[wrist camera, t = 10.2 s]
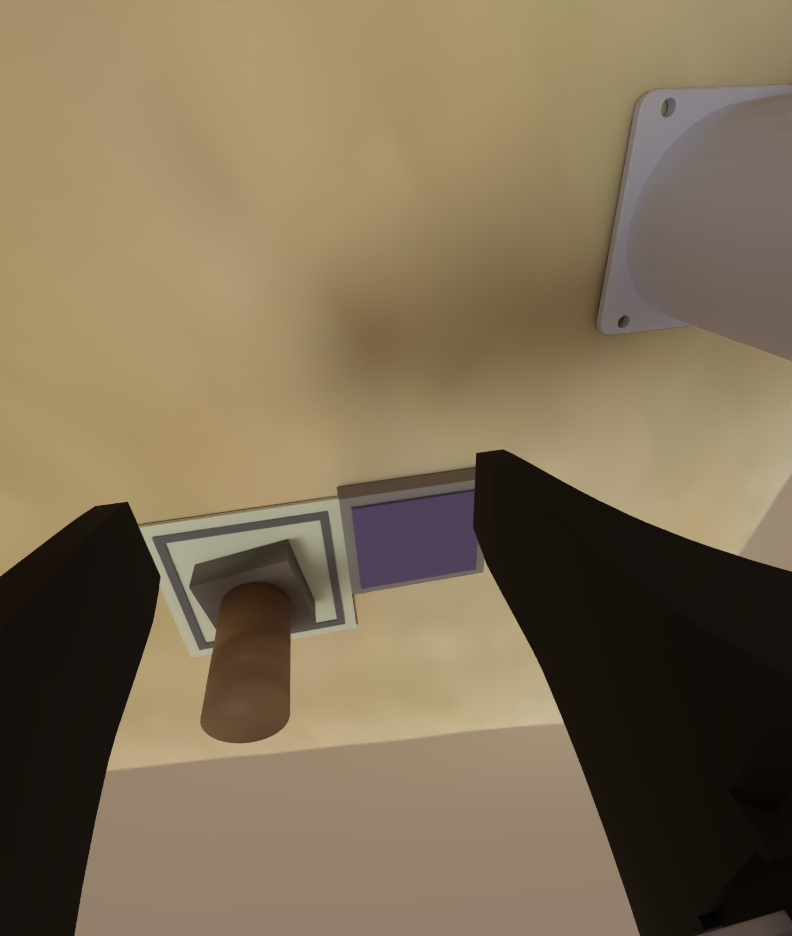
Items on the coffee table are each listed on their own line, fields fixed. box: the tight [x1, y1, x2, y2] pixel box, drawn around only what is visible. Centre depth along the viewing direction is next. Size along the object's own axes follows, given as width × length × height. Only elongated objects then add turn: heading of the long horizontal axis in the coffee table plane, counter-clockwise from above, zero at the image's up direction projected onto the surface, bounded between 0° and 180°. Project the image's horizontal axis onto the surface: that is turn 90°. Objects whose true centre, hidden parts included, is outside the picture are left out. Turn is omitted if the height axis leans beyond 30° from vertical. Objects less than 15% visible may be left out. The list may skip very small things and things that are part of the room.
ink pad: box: [337, 468, 484, 595], centre depth 23 cm, size 7×6×1 cm
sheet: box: [138, 496, 357, 658], centre depth 23 cm, size 9×9×1 cm
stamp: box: [189, 539, 316, 743], centre depth 20 cm, size 4×4×7 cm
